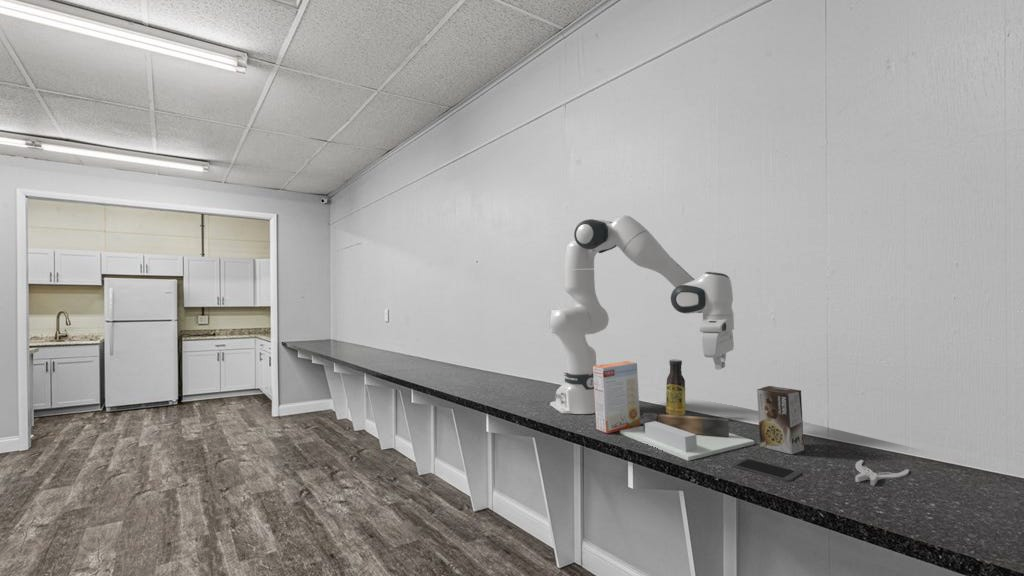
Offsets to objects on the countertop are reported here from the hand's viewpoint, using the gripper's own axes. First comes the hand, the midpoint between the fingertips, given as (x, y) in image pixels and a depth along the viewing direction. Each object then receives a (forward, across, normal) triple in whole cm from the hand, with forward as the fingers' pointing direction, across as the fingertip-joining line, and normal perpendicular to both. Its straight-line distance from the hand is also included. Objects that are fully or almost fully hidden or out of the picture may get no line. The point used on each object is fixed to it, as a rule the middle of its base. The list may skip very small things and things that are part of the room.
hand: (720, 368), depth 150 cm
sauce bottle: (+19, -6, -17) cm, 26 cm away
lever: (+18, +12, -8) cm, 23 cm away
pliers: (+20, +18, +38) cm, 47 cm away
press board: (+19, +15, -7) cm, 25 cm away
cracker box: (+19, +15, -28) cm, 37 cm away
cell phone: (+20, +28, +18) cm, 39 cm away
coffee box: (+19, +9, +18) cm, 28 cm away
